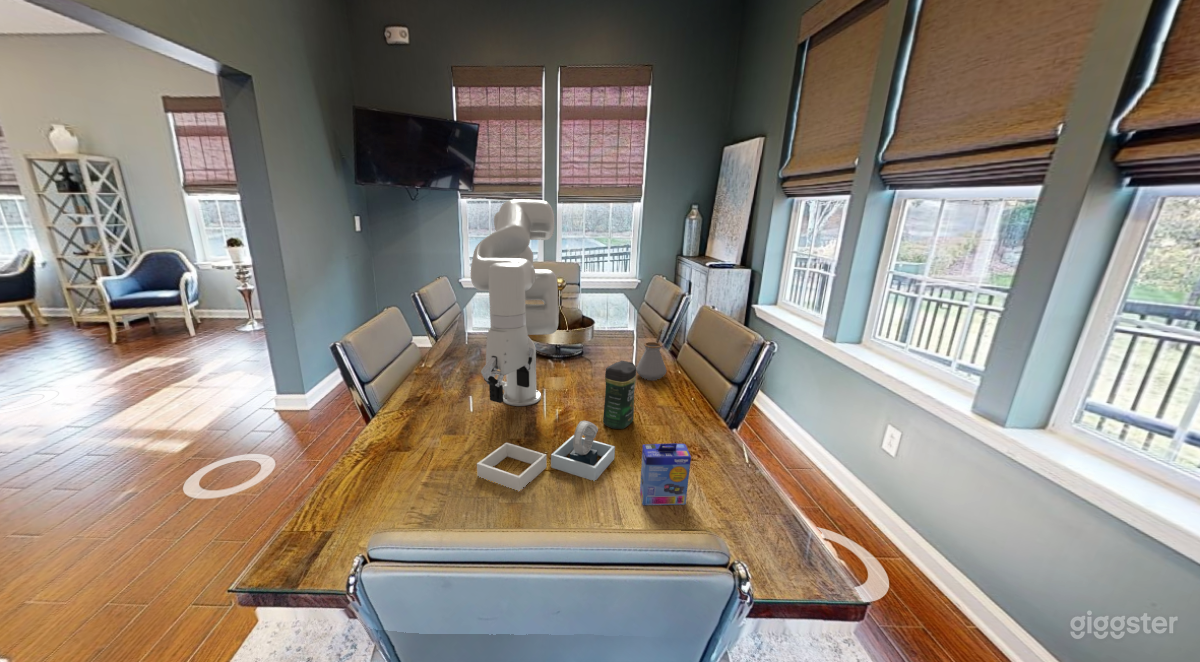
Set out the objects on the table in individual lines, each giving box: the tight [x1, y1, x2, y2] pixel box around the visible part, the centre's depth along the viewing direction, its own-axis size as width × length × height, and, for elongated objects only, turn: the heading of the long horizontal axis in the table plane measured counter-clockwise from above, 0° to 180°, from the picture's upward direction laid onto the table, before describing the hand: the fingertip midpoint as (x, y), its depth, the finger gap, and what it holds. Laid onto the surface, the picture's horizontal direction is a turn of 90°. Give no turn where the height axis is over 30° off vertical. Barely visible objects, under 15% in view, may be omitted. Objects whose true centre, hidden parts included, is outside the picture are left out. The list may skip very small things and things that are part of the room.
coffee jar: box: [602, 360, 637, 430], centre depth 130 cm, size 10×8×19 cm
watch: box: [569, 420, 599, 466], centre depth 109 cm, size 6×8×11 cm
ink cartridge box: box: [639, 442, 692, 506], centre depth 96 cm, size 10×6×14 cm, turn 95°
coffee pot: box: [636, 329, 667, 381], centre depth 171 cm, size 21×12×15 cm, turn 160°
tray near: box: [476, 442, 548, 492], centre depth 106 cm, size 12×11×4 cm
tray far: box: [550, 434, 616, 482], centre depth 110 cm, size 12×11×4 cm
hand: (510, 393), depth 101 cm, fingers open, 9 cm apart
